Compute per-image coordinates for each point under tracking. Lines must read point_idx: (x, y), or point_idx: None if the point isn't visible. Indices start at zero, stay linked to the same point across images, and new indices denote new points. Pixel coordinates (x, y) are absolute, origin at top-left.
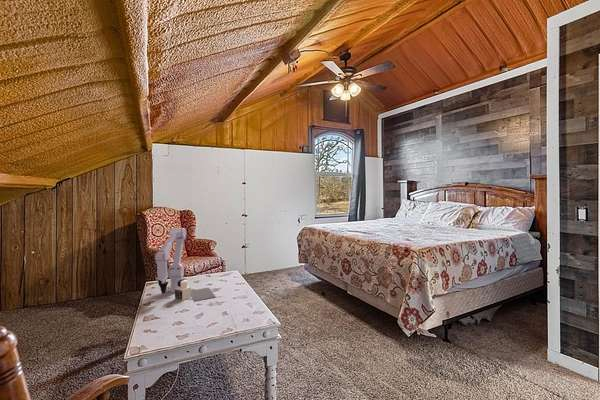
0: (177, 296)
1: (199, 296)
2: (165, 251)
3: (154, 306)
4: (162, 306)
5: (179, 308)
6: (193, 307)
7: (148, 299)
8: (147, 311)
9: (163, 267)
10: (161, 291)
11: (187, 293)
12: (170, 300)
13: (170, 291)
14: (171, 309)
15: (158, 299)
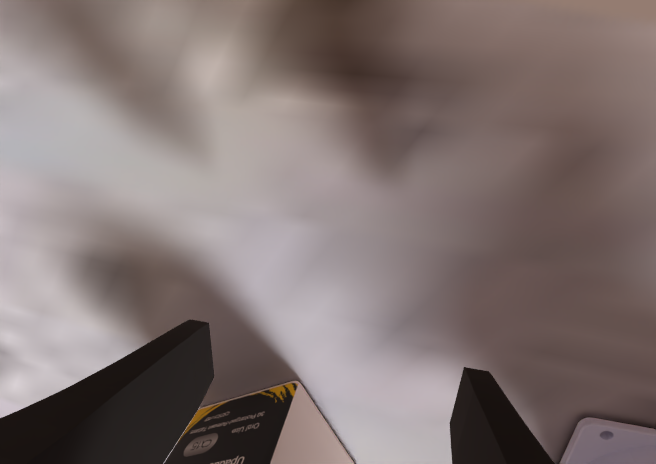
0: (240, 424)
1: None
2: None
3: (175, 127)
4: (134, 216)
5: (27, 333)
6: None
7: (588, 68)
8: (31, 14)
9: None
10: (147, 344)
11: None
12: (288, 332)
13: (649, 432)
14: (22, 274)
15: (439, 222)
